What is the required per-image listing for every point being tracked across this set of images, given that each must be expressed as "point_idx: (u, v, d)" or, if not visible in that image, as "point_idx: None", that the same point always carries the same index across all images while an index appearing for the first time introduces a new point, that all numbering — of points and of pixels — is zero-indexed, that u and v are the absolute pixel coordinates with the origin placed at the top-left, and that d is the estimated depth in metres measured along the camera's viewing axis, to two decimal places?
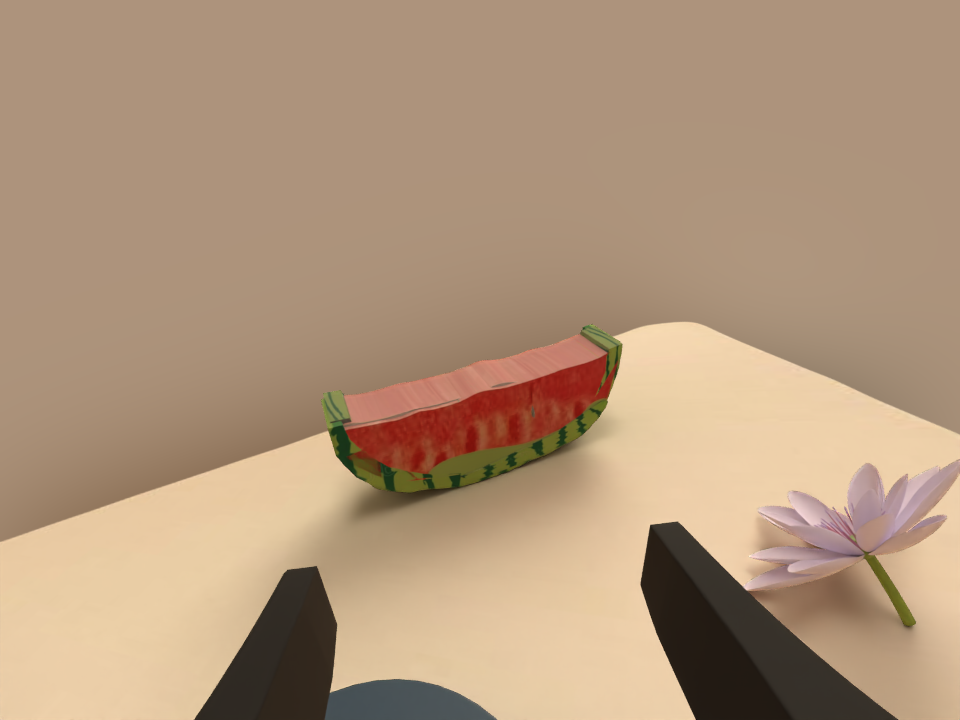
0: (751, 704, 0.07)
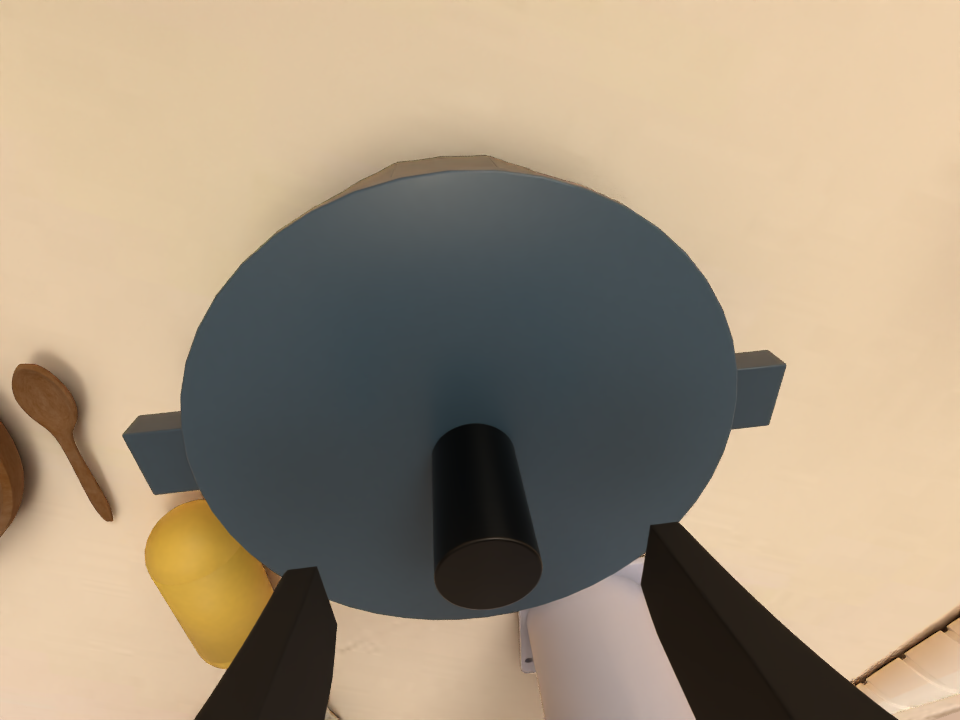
0: (751, 704, 0.07)
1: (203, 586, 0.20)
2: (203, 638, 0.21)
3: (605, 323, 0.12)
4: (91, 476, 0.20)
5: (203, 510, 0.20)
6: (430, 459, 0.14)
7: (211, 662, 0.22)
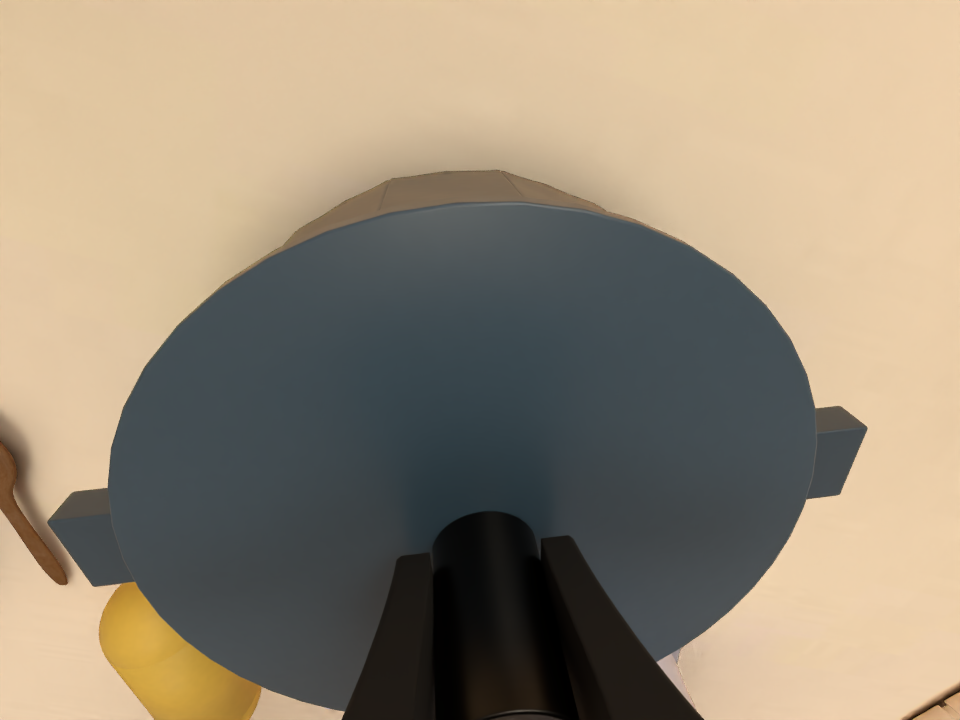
0: None
1: (167, 668, 0.17)
2: None
3: (656, 392, 0.10)
4: (38, 538, 0.17)
5: None
6: (431, 552, 0.11)
7: None
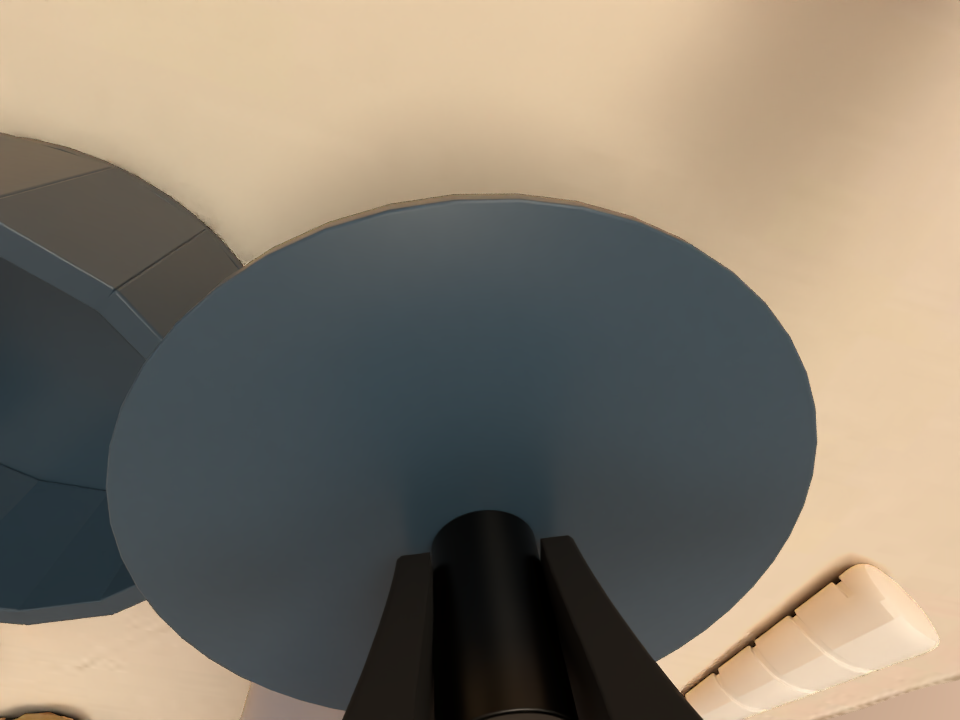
0: None
1: None
2: None
3: (656, 391, 0.10)
4: None
5: None
6: (430, 551, 0.11)
7: None
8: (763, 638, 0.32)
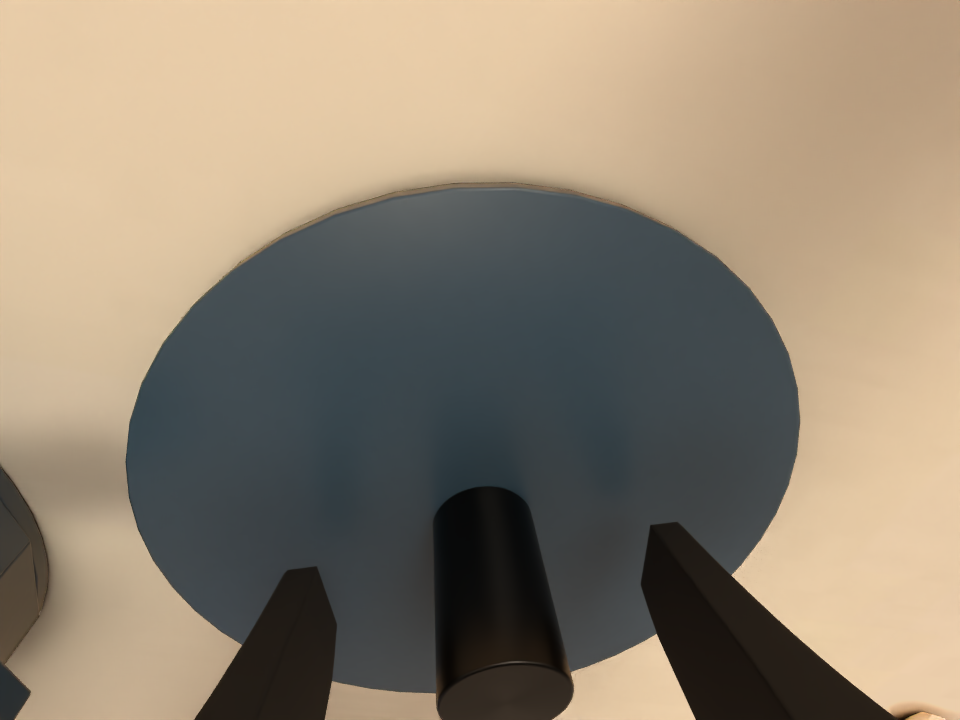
0: (752, 704, 0.07)
1: None
2: None
3: (646, 371, 0.10)
4: None
5: None
6: (431, 526, 0.12)
7: None
8: None
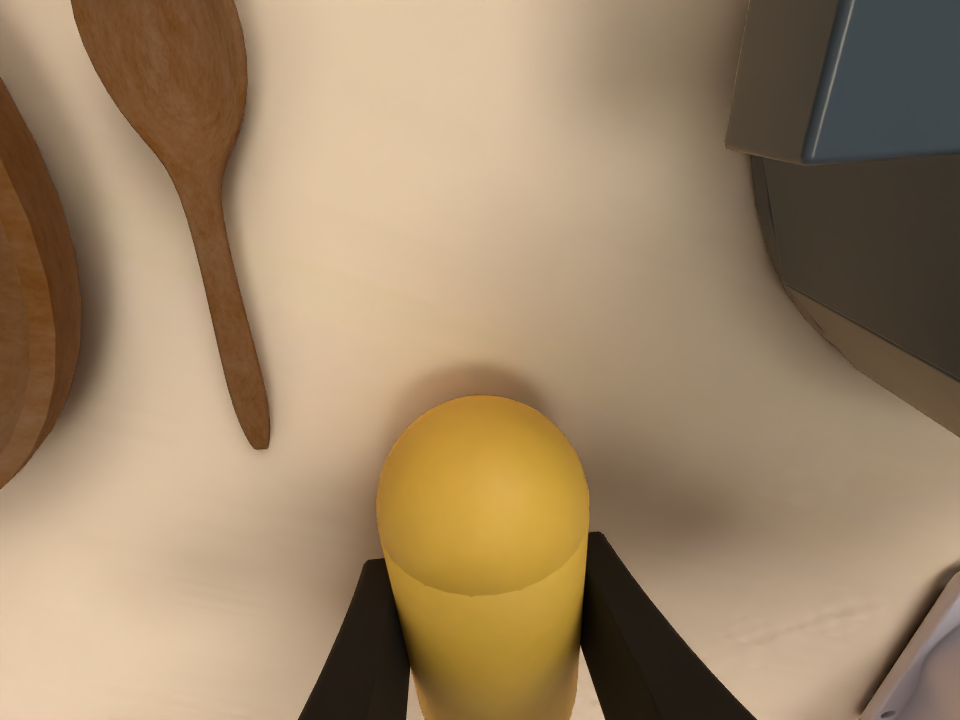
0: None
1: (543, 599, 0.08)
2: (488, 718, 0.09)
3: None
4: (246, 323, 0.08)
5: (516, 409, 0.08)
6: None
7: None
8: None
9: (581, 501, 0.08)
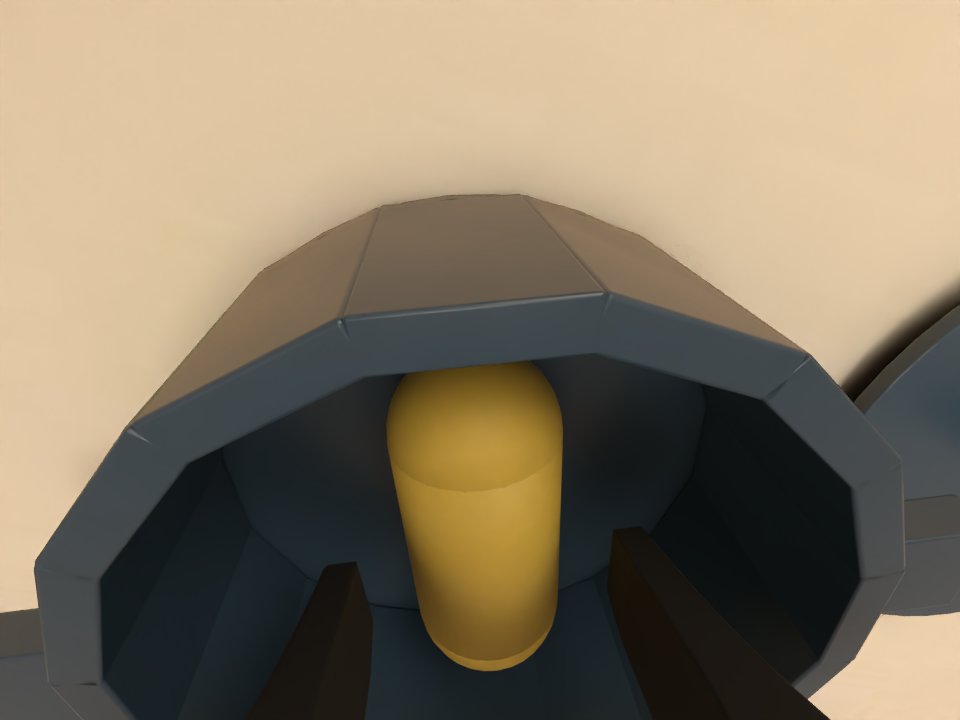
0: (701, 712, 0.07)
1: (523, 498, 0.09)
2: (480, 612, 0.11)
3: None
4: None
5: None
6: None
7: (471, 659, 0.12)
8: None
9: (554, 421, 0.10)
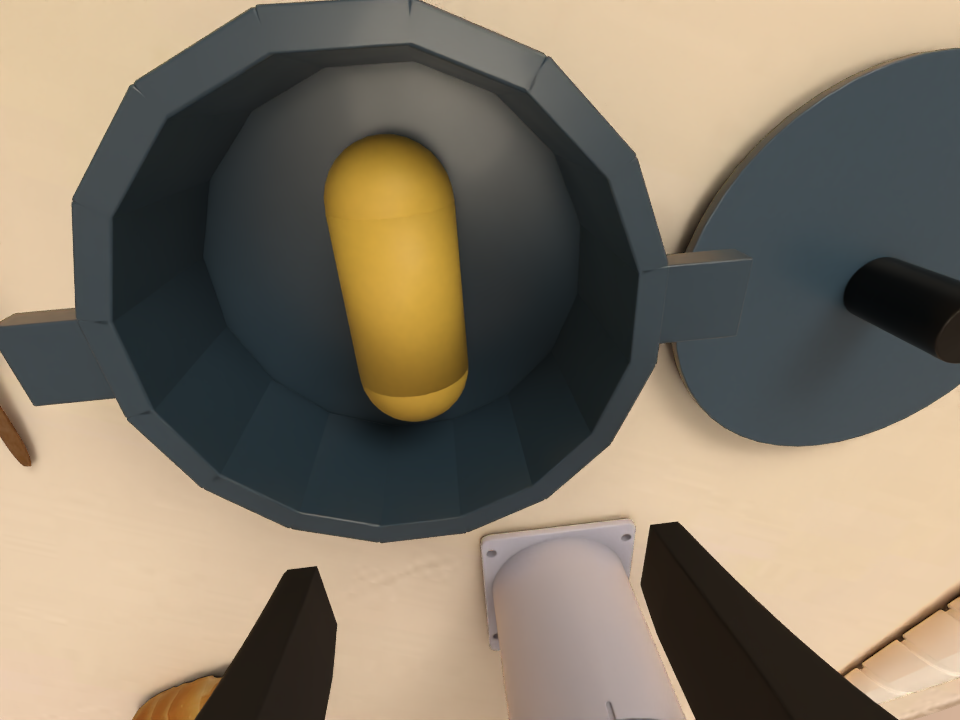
0: (751, 704, 0.07)
1: (422, 231, 0.13)
2: (401, 343, 0.15)
3: None
4: (1, 411, 0.18)
5: (406, 137, 0.14)
6: (843, 288, 0.19)
7: (399, 397, 0.16)
8: None
9: (444, 182, 0.14)
